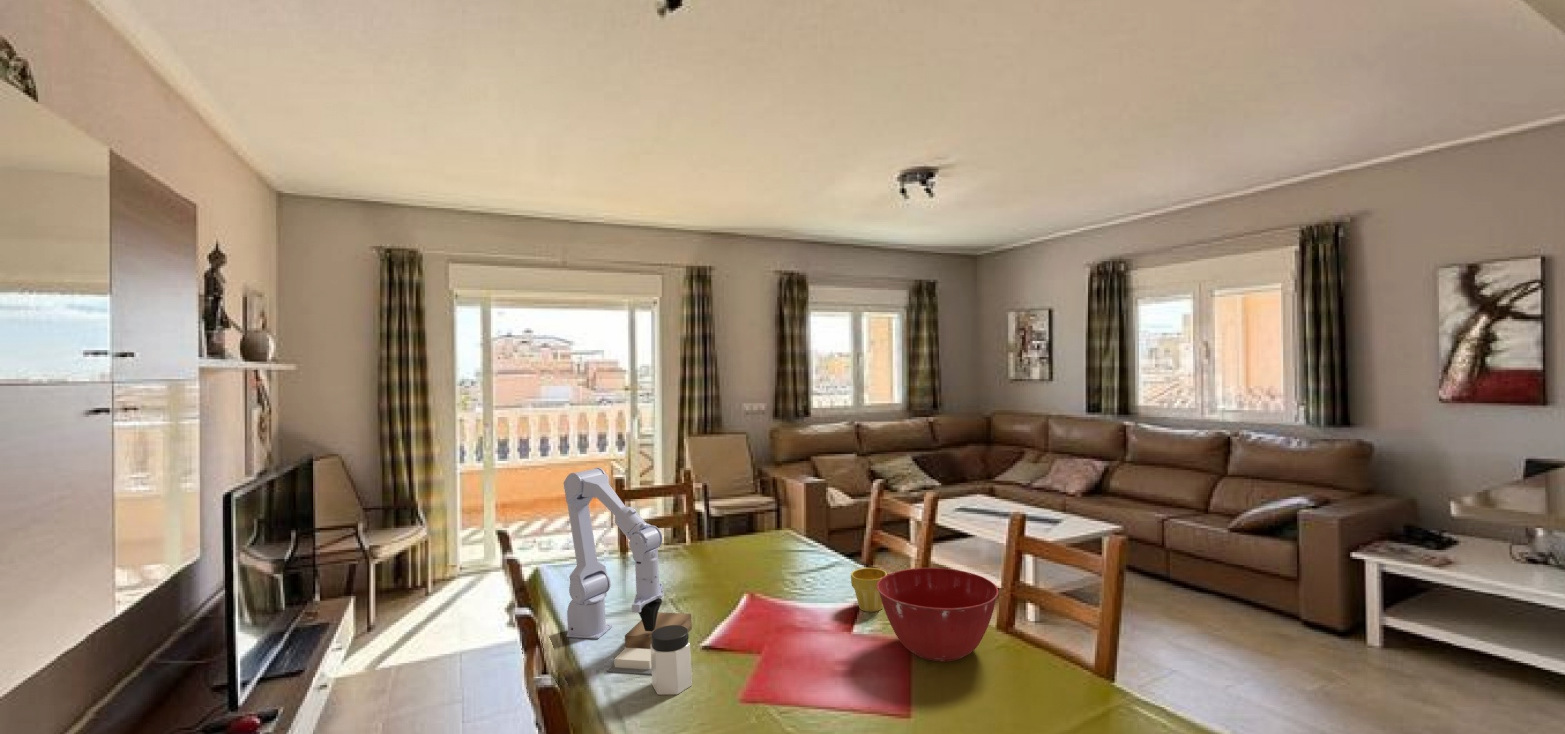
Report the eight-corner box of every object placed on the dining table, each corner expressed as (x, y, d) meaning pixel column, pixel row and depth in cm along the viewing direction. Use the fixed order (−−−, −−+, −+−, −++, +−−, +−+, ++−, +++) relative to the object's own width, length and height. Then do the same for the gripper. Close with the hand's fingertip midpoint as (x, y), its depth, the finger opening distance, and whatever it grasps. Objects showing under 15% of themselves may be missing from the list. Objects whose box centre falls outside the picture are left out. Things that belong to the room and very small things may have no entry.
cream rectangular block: (625, 647, 157) (626, 655, 157) (614, 658, 151) (614, 667, 151) (659, 649, 155) (660, 657, 155) (649, 661, 149) (649, 669, 149)
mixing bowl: (921, 615, 174) (918, 559, 174) (1022, 645, 154) (1019, 581, 153) (856, 651, 154) (853, 588, 154) (962, 691, 134) (959, 619, 134)
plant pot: (847, 612, 178) (846, 577, 178) (857, 599, 188) (856, 566, 187) (884, 616, 174) (882, 581, 174) (892, 602, 184) (890, 568, 184)
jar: (696, 689, 139) (693, 635, 139) (659, 699, 136) (656, 644, 136) (684, 672, 147) (681, 621, 147) (649, 681, 144) (646, 629, 144)
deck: (625, 651, 160) (624, 635, 160) (650, 626, 174) (649, 611, 174) (670, 654, 157) (669, 637, 157) (691, 628, 172) (691, 613, 172)
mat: (607, 671, 149) (606, 670, 149) (626, 652, 159) (626, 651, 159) (654, 675, 147) (654, 673, 147) (671, 655, 157) (671, 653, 157)
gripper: (650, 587, 152) (652, 643, 152) (673, 567, 166) (675, 618, 166) (622, 586, 154) (625, 641, 154) (648, 566, 168) (650, 617, 168)
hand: (649, 629), depth 160 cm, fingers closed
